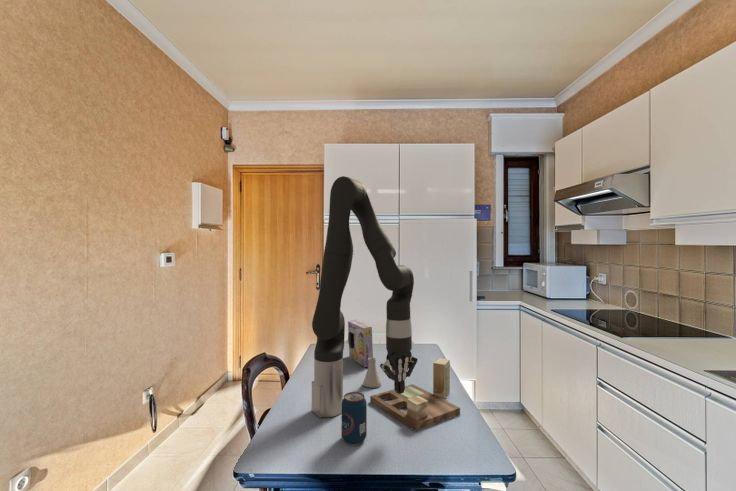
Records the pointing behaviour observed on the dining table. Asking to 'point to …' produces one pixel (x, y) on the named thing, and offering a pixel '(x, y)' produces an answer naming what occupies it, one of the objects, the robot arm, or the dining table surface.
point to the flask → (372, 375)
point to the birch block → (417, 407)
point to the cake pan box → (360, 342)
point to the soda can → (354, 418)
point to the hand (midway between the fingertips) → (399, 392)
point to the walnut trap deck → (436, 407)
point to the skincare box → (441, 378)
